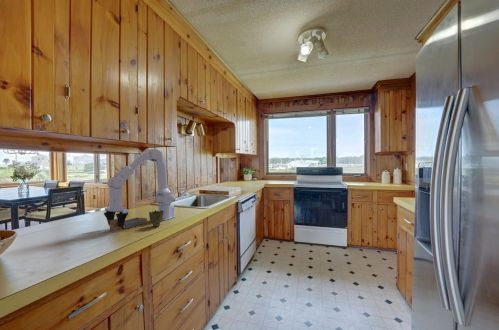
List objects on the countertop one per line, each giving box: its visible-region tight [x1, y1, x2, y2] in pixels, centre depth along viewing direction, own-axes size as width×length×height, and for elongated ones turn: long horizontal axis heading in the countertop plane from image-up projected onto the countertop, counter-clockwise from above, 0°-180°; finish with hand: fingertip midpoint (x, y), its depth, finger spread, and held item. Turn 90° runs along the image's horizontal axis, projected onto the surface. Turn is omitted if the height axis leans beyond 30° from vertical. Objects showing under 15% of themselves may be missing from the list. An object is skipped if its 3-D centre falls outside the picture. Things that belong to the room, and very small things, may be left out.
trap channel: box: [124, 216, 148, 230], centre depth 123 cm, size 14×8×2 cm, turn 157°
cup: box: [148, 209, 164, 228], centre depth 120 cm, size 8×7×8 cm
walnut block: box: [109, 218, 125, 232], centre depth 114 cm, size 4×4×5 cm
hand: (116, 225), depth 114 cm, fingers open, 7 cm apart
